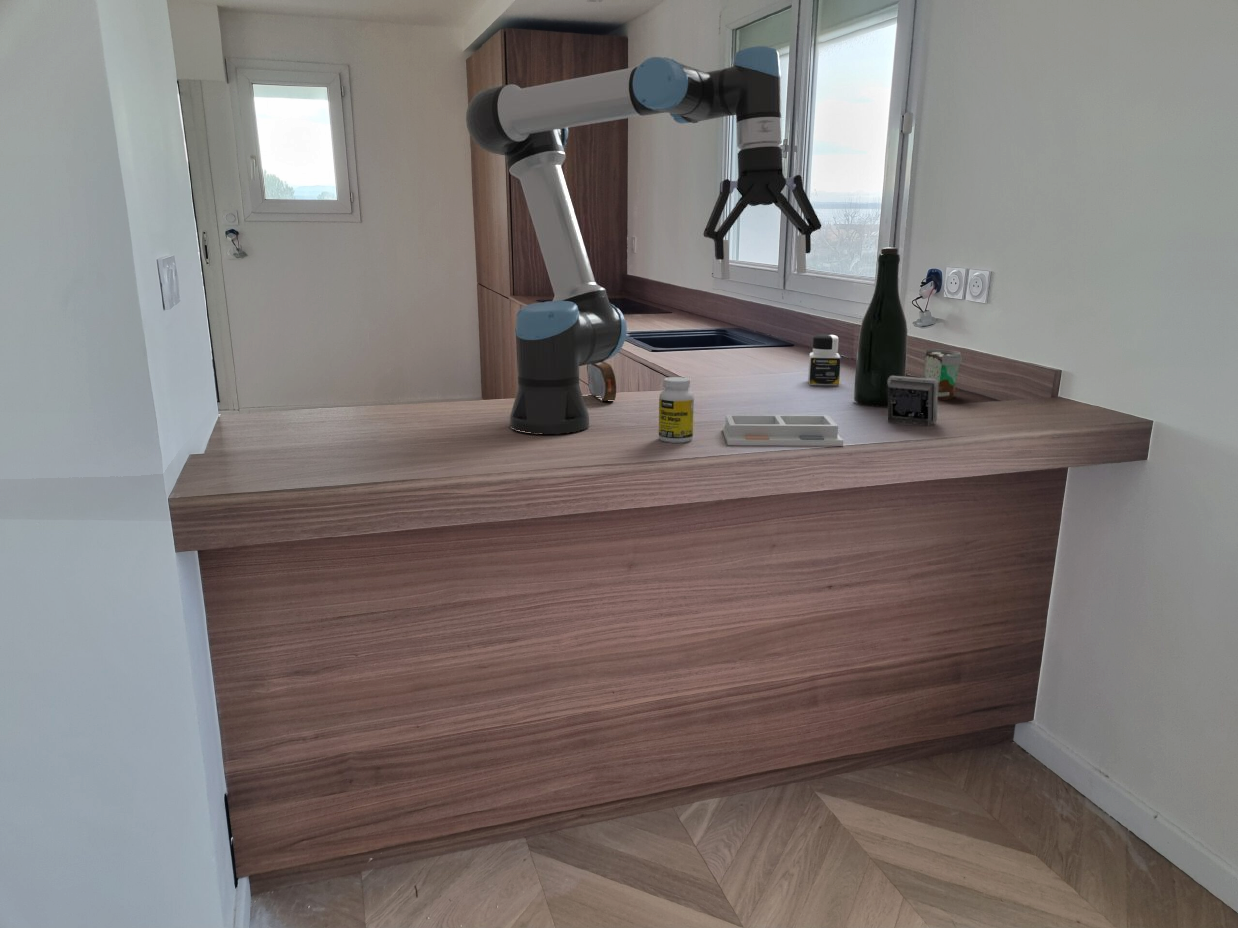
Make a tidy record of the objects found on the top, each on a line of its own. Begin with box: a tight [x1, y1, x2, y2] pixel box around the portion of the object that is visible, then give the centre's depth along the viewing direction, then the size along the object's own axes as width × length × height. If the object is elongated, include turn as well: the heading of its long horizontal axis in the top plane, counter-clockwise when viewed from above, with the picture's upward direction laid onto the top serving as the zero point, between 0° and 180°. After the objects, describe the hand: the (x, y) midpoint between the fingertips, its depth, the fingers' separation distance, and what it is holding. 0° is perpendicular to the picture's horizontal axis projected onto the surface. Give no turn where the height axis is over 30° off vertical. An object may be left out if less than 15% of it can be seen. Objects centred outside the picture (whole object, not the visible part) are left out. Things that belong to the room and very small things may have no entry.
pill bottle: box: [658, 376, 695, 444], centre depth 152 cm, size 6×6×11 cm
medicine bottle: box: [807, 333, 842, 387], centre depth 210 cm, size 7×7×12 cm
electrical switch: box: [887, 376, 938, 427], centre depth 165 cm, size 9×5×9 cm, turn 57°
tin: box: [586, 361, 617, 401], centre depth 192 cm, size 15×3×8 cm, turn 18°
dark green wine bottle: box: [853, 247, 908, 407], centre depth 182 cm, size 10×10×33 cm
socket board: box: [722, 414, 844, 447], centre depth 154 cm, size 20×12×3 cm, turn 88°
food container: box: [923, 348, 963, 401], centre depth 193 cm, size 12×6×10 cm, turn 179°
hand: (763, 276), depth 149 cm, fingers open, 13 cm apart
